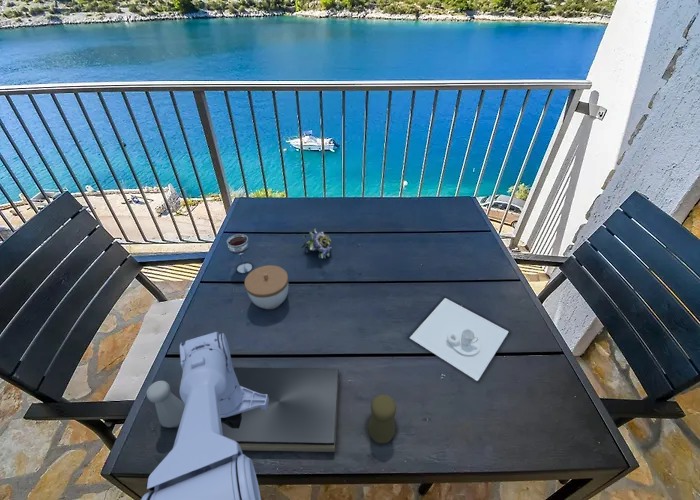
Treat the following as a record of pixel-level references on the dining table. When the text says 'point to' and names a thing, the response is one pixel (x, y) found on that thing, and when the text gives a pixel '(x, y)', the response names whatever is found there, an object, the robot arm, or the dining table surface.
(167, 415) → the salt shaker
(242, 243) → the wineglass
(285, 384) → the panel
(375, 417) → the olive peanut shape
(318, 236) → the passion flower
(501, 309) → the dining table surface
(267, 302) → the lidded bowl
